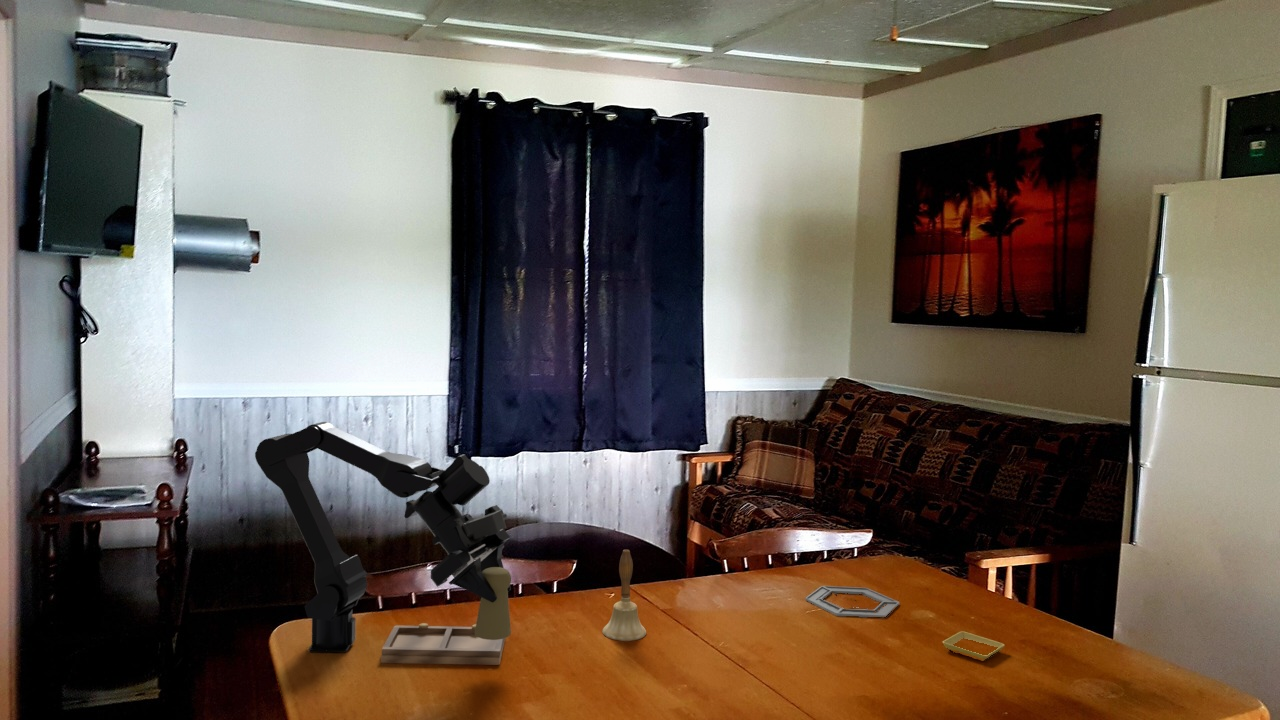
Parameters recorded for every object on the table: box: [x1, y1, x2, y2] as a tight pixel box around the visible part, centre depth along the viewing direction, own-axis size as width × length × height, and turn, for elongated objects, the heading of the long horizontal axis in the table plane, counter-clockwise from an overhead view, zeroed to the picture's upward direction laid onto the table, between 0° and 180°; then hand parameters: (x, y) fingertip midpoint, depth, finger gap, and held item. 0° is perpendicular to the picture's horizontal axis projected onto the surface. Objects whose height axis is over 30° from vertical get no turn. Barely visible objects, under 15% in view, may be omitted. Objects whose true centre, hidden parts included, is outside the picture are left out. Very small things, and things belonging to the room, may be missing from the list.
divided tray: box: [380, 622, 506, 666], centre depth 168 cm, size 20×12×3 cm, turn 93°
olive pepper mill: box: [475, 567, 512, 640], centre depth 159 cm, size 6×6×11 cm
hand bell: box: [601, 549, 647, 642], centre depth 179 cm, size 8×8×16 cm
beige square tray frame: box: [942, 631, 1005, 659], centre depth 177 cm, size 9×9×2 cm
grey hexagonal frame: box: [804, 585, 900, 618], centre depth 202 cm, size 17×20×1 cm
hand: (502, 595), depth 158 cm, fingers closed on olive pepper mill, 5 cm apart
